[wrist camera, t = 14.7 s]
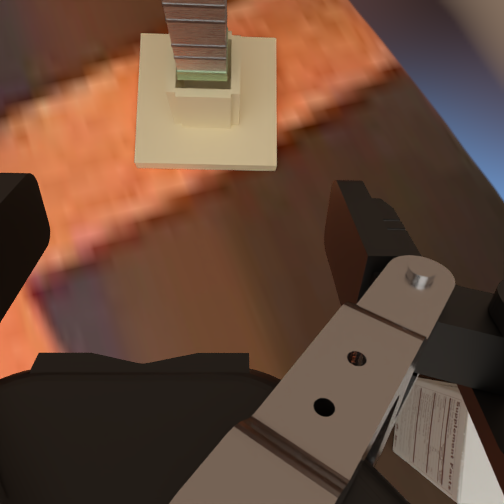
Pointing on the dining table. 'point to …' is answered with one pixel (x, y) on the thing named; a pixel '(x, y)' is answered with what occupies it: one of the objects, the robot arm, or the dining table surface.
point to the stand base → (207, 109)
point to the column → (198, 38)
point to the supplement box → (445, 444)
